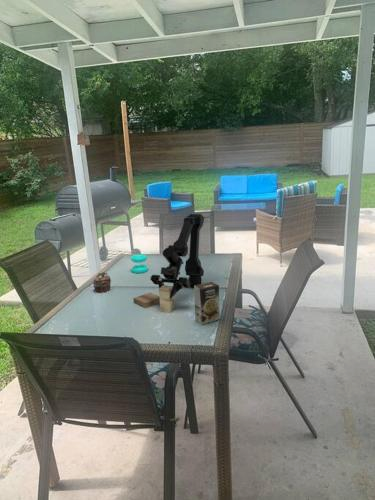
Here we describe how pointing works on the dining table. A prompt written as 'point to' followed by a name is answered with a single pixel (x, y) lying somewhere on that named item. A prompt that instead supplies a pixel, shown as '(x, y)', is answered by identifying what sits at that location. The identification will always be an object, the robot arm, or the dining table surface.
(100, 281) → the cupcake
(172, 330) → the dining table surface
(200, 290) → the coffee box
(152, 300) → the walnut slab
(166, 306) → the maple block
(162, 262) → the dining table surface
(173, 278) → the robot arm
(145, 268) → the cyan spool
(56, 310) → the dining table surface
